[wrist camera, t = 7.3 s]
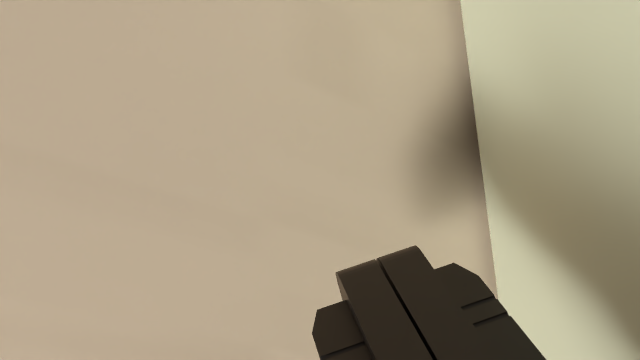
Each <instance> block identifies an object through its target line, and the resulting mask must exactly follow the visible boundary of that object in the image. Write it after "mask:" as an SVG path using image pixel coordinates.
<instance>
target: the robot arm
mask: <svg viewBox="0 0 640 360" xmlns="http://www.w3.org/2000/svg"><path fill="white" fill-rule="evenodd" d="M336 277H337V282H338V285H339V289H340V293H341V296H342V300H343V301H342V302H339V303H336V304H333V305H330V306H327V307H324V308H321V309H318V310H317V313H316V318H315V322H314V327H313V332H312V335H313V338H314V341H315V344H316V348H317V351H318V354H319V357H320V360H546V359H545V357H544V356H543V355H542V354H541V352H540V351H539V350H538V349H537V347H536V346H535V345H534V344H533V343H532V341H531V340H530V339H529V338H528V336H527V335H526V334H525V333H524V331H523V330H522V329H521V328H520V326H519V325H518V324H517V323H516V322H515V320H514V319H513V318H512V317H511V316H509V315H508V312H507V310H506V309H505V308H504V307H503V305H502V304H501V303H500V302H499V301H498V299H495V297H494V294H493V293H492V292H491V291H490V289H489V288H488V287H487V286H486V284H485V283H484V282H483V281H482V280H481V278H480V277H479V276H478V275H476V274H474V273H472V272H470V271H469V270H467V269H465V268H463V267H461V266H459V265H457V264H455V263H452V264H449V265H446V266H443V267H440V268H437V269H433V267H432V266H431V264H430V263H429V262H428V260H427V259H426V257H425V256H424V255H423V253H422V252H421V250H420V249H419V248H418V247H417V246H416V245H415V246H412V247H409V248H406V249H403V250H400V251H397V252H394V253H391V254H388V255H385V256H382V257H379V258H377V259H376V260H375V259H374V260H371V261H368V262H365V263H362V264H359V265H356V266H353V267H350V268H347V269H344V270H341V271H338V272H336Z"/></svg>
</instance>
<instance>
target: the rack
mask: <svg viewBox="0 0 640 360" xmlns="http://www.w3.org/2000/svg"><path fill="white" fill-rule="evenodd" d="M460 2H461V10H462V18H463V26H464V33H465V41H466V49H467V57H468V65H469V73H470V81H471V88H472V96H473V104H474V112H475V120H476V128H477V136H478V143H479V151H480V159H481V167H482V175H483V183H484V191H485V198H486V206H487V214H488V222H489V230H490V238H491V246H492V253H493V261H494V269H495V277H496V285H497V293H498V301H499V302H500V303H501V304H502V305H503V307H504V308H505V309H506V310H507V312H508V315H509V316H511V317H512V318H513V319H514V320H515V322H516V323H517V324H518V325H519V326H520V328H521V329H522V330H523V331H524V333H525V334H526V335H527V336H528V338H529V339H530V340H531V341H532V343H533V344H534V345H535V346H536V347H537V349H538V350H539V351H540V352H541V354H542V355H543V356H544V357H545V359H546V360H640V0H460Z"/></svg>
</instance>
